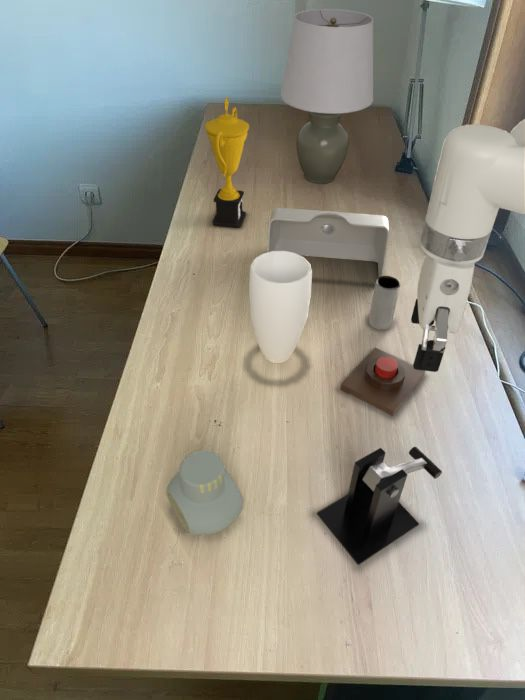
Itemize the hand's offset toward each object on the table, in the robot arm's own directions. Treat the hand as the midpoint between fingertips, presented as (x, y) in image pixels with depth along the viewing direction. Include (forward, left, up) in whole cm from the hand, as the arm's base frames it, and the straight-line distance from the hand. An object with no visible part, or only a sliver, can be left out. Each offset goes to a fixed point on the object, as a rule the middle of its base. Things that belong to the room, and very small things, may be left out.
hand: (423, 345), depth 78 cm
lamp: (-46, -82, -20) cm, 96 cm away
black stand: (+15, +9, -19) cm, 26 cm away
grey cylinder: (-16, -23, -20) cm, 34 cm away
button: (-5, -10, -16) cm, 19 cm away
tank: (-20, -46, -20) cm, 54 cm away
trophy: (-11, -73, -20) cm, 76 cm away
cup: (+8, -24, -20) cm, 32 cm away
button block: (-5, -10, -19) cm, 22 cm away
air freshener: (+33, -5, -20) cm, 39 cm away
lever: (+11, +9, -11) cm, 18 cm away
